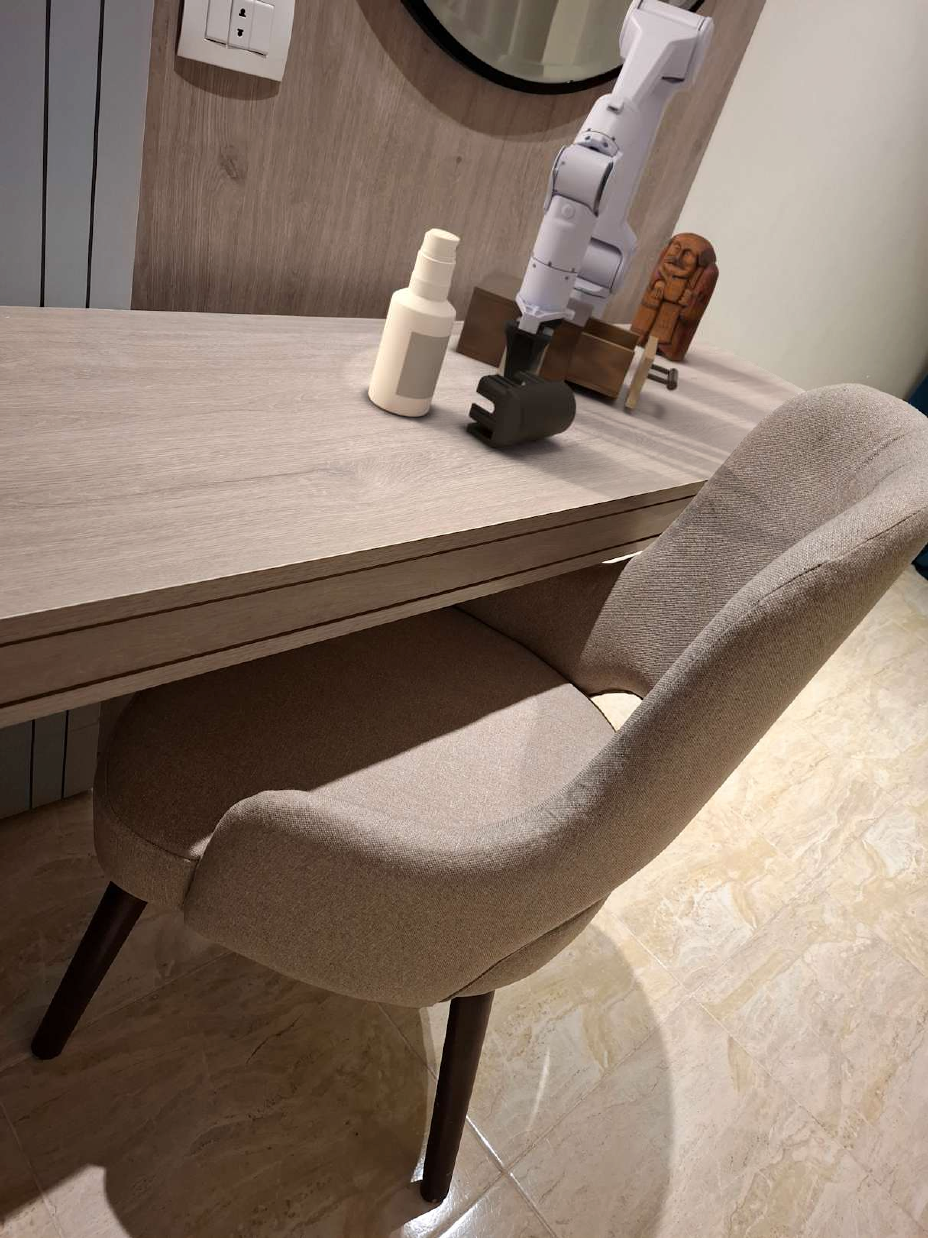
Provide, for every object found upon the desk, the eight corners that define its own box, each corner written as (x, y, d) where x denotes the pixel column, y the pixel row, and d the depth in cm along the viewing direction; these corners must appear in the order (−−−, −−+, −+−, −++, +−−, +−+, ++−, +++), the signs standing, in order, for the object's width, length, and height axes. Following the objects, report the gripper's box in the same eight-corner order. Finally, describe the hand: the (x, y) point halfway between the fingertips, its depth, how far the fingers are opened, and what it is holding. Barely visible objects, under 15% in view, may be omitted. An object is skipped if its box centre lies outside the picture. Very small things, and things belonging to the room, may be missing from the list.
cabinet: (572, 365, 128) (594, 305, 123) (560, 390, 117) (583, 326, 113) (476, 329, 128) (494, 268, 124) (455, 351, 118) (474, 286, 113)
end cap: (509, 461, 94) (530, 401, 90) (461, 429, 97) (479, 370, 94) (563, 449, 101) (585, 393, 98) (517, 419, 104) (536, 364, 101)
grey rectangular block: (497, 382, 113) (520, 312, 108) (531, 395, 113) (555, 325, 108) (491, 391, 110) (514, 319, 105) (525, 404, 109) (550, 333, 104)
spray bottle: (420, 424, 95) (469, 251, 85) (359, 402, 95) (402, 227, 85) (434, 404, 101) (482, 240, 91) (377, 383, 101) (418, 217, 91)
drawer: (667, 395, 126) (687, 348, 123) (663, 420, 117) (685, 371, 113) (549, 350, 127) (565, 303, 123) (535, 372, 118) (553, 322, 114)
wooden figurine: (614, 333, 149) (658, 220, 139) (633, 331, 154) (677, 222, 144) (673, 364, 144) (723, 249, 134) (691, 361, 149) (740, 250, 139)
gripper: (580, 287, 96) (538, 404, 104) (595, 264, 108) (556, 370, 116) (518, 264, 96) (481, 382, 104) (540, 244, 109) (505, 351, 116)
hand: (517, 375), depth 110 cm, fingers open, 7 cm apart
